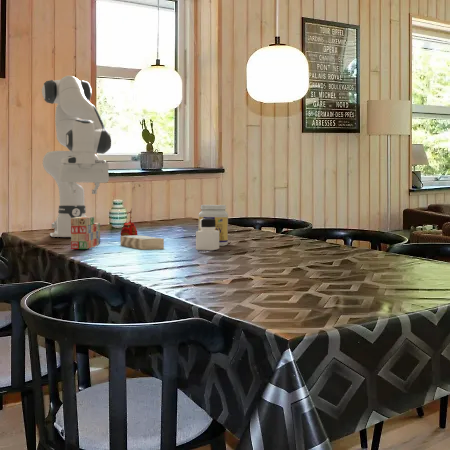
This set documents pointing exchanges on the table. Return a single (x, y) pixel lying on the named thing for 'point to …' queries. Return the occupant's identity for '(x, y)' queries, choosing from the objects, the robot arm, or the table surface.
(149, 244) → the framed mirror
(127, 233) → the red clay folk toy
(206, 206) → the supplement tub
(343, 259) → the table surface
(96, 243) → the stack of blocks
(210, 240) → the medicine bottle
